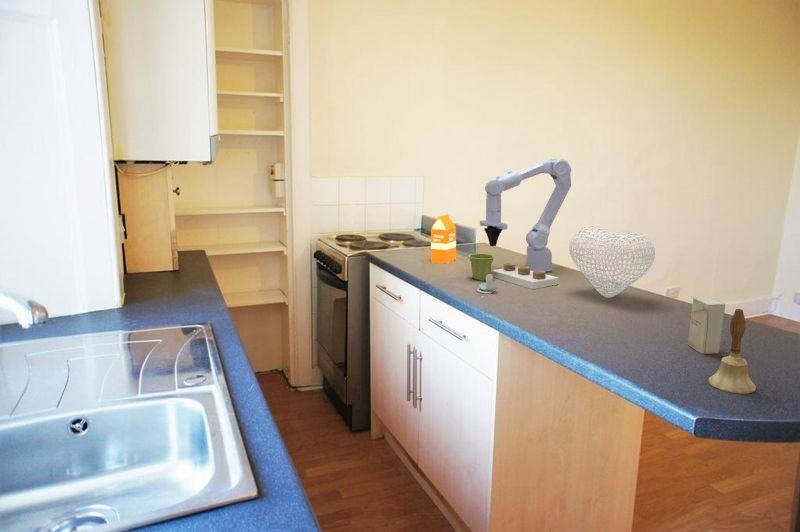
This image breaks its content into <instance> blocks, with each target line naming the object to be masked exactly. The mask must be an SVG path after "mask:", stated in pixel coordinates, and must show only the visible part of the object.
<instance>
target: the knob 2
mask: <svg viewBox="0 0 800 532" xmlns="http://www.w3.org/2000/svg"><path fill="white" fill-rule="evenodd" d="M533 278H536V279H544V278H546V272H545V271H541V270H537V271H534V272H533Z"/></svg>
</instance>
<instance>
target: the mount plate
mask: <svg viewBox="0 0 800 532" xmlns="http://www.w3.org/2000/svg"><path fill="white" fill-rule="evenodd" d="M519 267H520V266H516V268H515V270H513V271H506V270H504V267H502V268H495V269H491V270H490V274H491V275H492V276H493V278H494V277H495V279H497V278H498V280H501V281H505V282H506V283H511V284H514V285H517V286H521V287H524V288H527V289H531V290H536V289H542V288H546V287H547V286H548V287H553V286H558V285H557V284H559V282H560V281H559V279H560V278H559V277H557V276H554V275H550V274H546V278H544V279H536V278H533V272H534V271H531V270H530V274H527V275H521V274H518V268H519ZM552 285H553V286H552Z"/></svg>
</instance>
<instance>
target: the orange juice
mask: <svg viewBox="0 0 800 532" xmlns="http://www.w3.org/2000/svg"><path fill="white" fill-rule="evenodd" d="M430 251H431V252H430V254H431V255H430V259H431V260H430V263H435V262H438V263H437V264H444V263H447V264H449V262H450V263H452V262H455V261H456V259H457V254H456V252H457V228H456V225H455V224H454V222H453V221H452V219H451V218H450V216H449V214H447V213H446V214H444V215H443V214H442V215H440V216H438V217H437V218H436V220H435V222H434V223H433V225H432V227H431V228H430ZM454 260H455V261H454ZM451 261H452V262H451Z"/></svg>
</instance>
